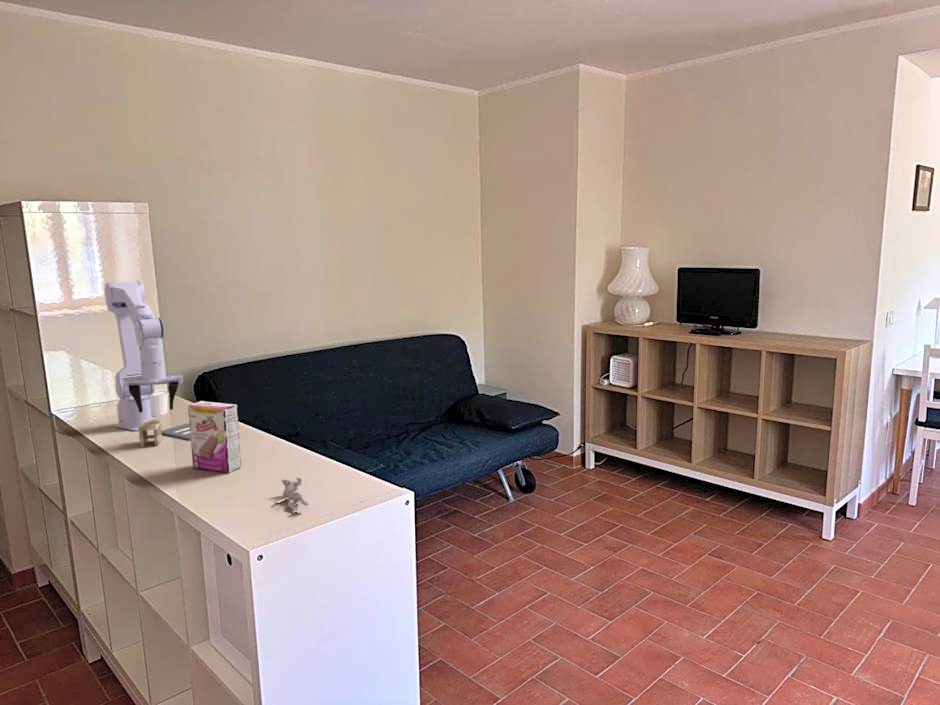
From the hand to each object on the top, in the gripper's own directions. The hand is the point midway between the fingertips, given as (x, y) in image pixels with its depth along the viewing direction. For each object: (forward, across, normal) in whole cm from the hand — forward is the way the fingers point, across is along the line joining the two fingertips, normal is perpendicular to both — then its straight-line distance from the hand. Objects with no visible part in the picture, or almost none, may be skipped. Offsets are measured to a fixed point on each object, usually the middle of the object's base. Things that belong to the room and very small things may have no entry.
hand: (156, 410), depth 180 cm
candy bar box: (+10, +15, -29) cm, 34 cm away
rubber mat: (+9, +7, +8) cm, 14 cm away
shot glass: (+10, -2, +34) cm, 36 cm away
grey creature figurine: (+10, +30, -59) cm, 67 cm away
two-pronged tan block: (+10, -2, 0) cm, 10 cm away
